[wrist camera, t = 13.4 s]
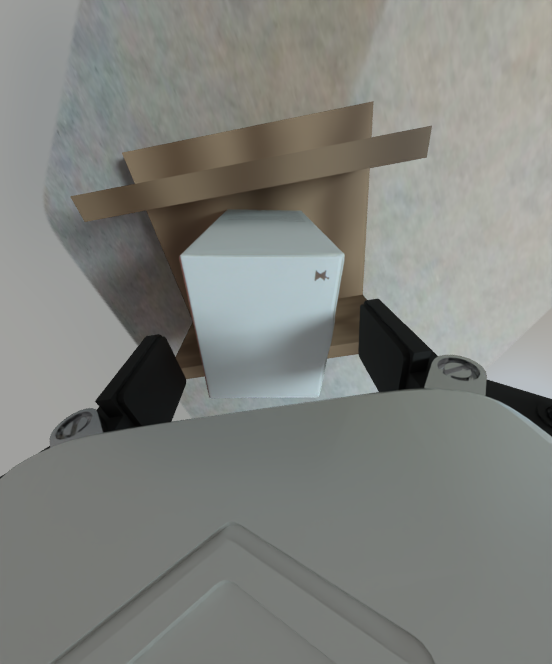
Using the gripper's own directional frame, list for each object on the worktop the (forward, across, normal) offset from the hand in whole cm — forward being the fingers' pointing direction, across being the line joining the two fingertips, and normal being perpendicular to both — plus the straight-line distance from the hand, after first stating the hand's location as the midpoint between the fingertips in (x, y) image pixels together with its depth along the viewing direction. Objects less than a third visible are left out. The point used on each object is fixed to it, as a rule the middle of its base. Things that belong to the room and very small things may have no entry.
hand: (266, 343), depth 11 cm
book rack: (+14, 0, -1) cm, 14 cm away
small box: (+13, 0, -1) cm, 13 cm away
